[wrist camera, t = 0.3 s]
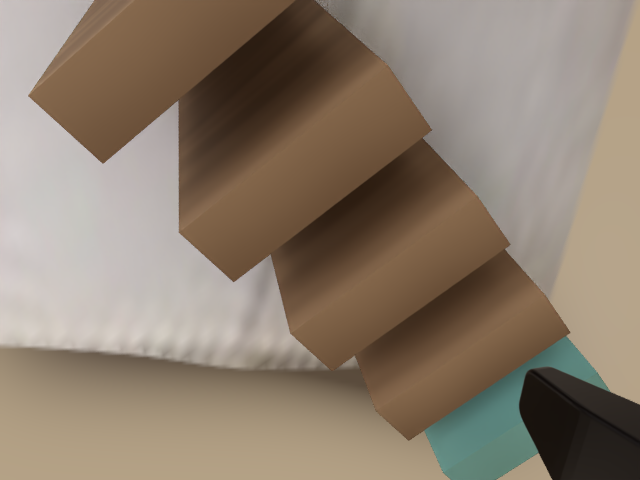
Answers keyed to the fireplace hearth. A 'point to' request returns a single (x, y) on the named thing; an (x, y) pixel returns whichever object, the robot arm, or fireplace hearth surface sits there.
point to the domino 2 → (285, 135)
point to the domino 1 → (141, 62)
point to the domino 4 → (458, 345)
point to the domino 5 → (499, 420)
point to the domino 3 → (382, 254)
